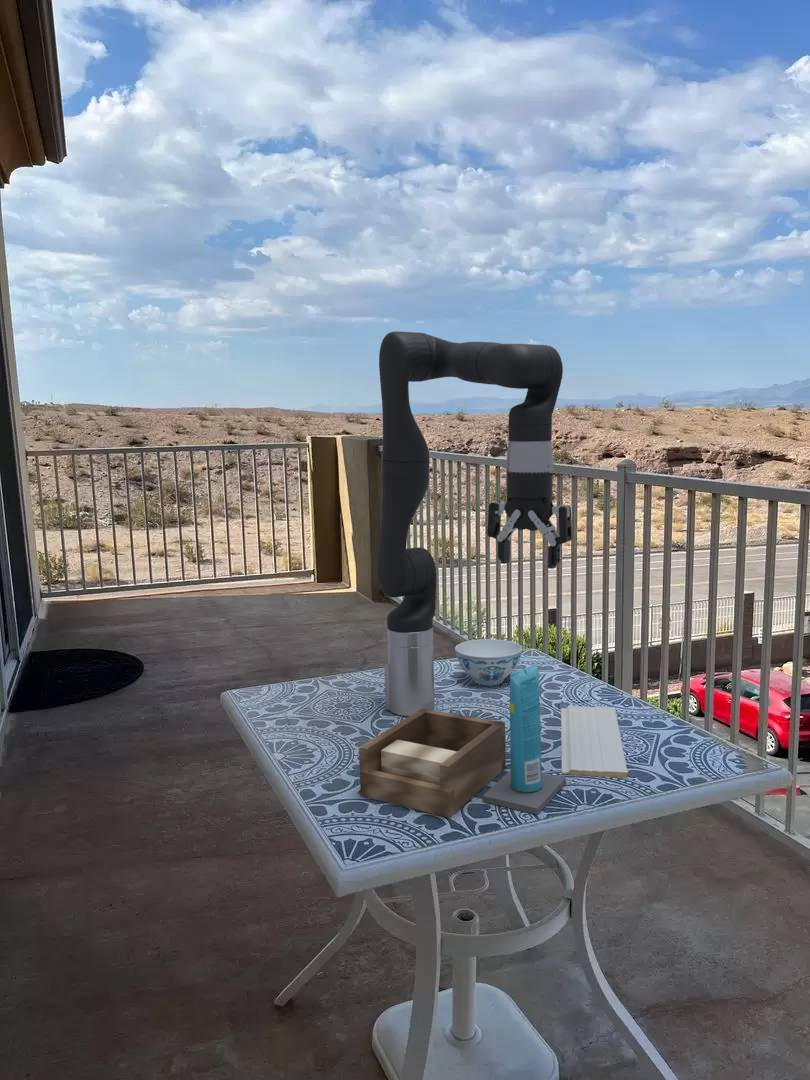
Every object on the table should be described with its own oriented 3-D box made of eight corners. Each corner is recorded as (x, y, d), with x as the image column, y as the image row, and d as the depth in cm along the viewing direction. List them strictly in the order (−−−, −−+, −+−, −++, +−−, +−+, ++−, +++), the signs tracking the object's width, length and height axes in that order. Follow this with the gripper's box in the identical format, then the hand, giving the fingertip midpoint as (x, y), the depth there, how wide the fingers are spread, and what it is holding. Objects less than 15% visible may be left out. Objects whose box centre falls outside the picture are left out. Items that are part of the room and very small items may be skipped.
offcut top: (381, 765, 131) (381, 750, 130) (397, 754, 135) (397, 739, 135) (442, 778, 125) (442, 763, 125) (457, 766, 129) (457, 751, 129)
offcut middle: (381, 780, 131) (381, 765, 131) (398, 768, 135) (397, 754, 135) (442, 794, 125) (442, 779, 125) (457, 782, 130) (457, 767, 129)
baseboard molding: (552, 777, 137) (627, 781, 134) (552, 760, 136) (627, 764, 134) (553, 712, 167) (614, 714, 165) (553, 698, 166) (614, 700, 164)
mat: (482, 801, 127) (482, 795, 127) (514, 772, 137) (514, 767, 137) (537, 814, 122) (537, 808, 122) (565, 783, 133) (565, 777, 132)
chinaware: (529, 674, 191) (528, 641, 190) (513, 694, 177) (513, 659, 176) (467, 668, 196) (466, 637, 195) (447, 687, 182) (446, 654, 181)
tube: (523, 774, 134) (522, 660, 131) (550, 781, 131) (550, 664, 128) (500, 791, 128) (499, 672, 125) (528, 799, 125) (527, 677, 123)
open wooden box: (360, 795, 130) (358, 747, 129) (423, 751, 147) (422, 708, 146) (449, 818, 122) (448, 766, 121) (505, 768, 139) (505, 722, 138)
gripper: (480, 469, 136) (480, 565, 139) (561, 471, 129) (560, 573, 131) (500, 466, 142) (499, 558, 145) (579, 468, 135) (577, 565, 137)
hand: (528, 565), depth 138 cm, fingers open, 8 cm apart
